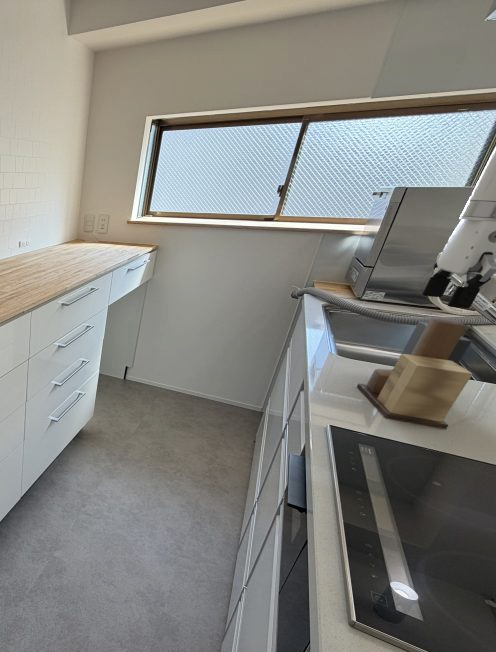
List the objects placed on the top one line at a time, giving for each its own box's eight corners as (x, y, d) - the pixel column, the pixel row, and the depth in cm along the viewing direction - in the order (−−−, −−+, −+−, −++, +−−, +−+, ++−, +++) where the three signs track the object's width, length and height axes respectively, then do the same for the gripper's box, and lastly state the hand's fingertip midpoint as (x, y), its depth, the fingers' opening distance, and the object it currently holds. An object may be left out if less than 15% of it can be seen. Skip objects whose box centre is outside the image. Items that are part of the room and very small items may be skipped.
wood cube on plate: (408, 395, 97) (435, 348, 91) (446, 429, 83) (481, 376, 78) (356, 386, 100) (380, 340, 94) (385, 417, 87) (414, 366, 81)
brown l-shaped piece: (370, 392, 95) (410, 317, 87) (365, 385, 98) (403, 312, 90) (422, 403, 91) (468, 325, 83) (415, 395, 95) (459, 320, 87)
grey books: (418, 381, 104) (451, 325, 97) (437, 396, 97) (474, 336, 90) (388, 376, 106) (418, 321, 99) (404, 391, 99) (438, 332, 92)
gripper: (555, 216, 69) (495, 315, 77) (488, 210, 83) (444, 294, 91) (495, 213, 71) (443, 309, 79) (440, 209, 86) (401, 290, 93)
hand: (444, 301), depth 85 cm, fingers open, 9 cm apart
